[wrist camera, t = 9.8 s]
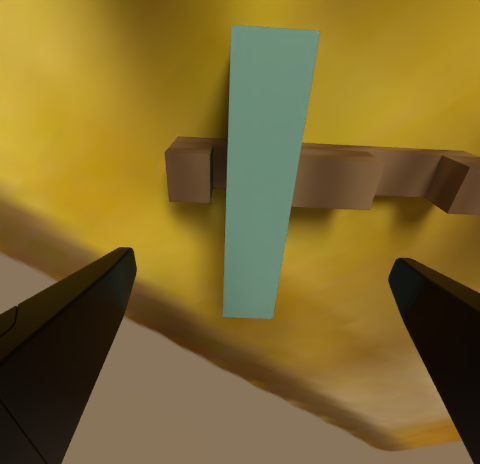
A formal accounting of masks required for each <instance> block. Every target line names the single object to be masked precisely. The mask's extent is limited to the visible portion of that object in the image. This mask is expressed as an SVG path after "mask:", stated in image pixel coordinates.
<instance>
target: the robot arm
mask: <svg viewBox="0 0 480 464" xmlns="http://www.w3.org/2000/svg"><path fill="white" fill-rule="evenodd" d="M136 272H137V267H136V261H135V256H134V251H133V249H132V248H128V247H119V248H117V249H115V250H114V251H112V252H110V253H108V254H107V255H105V256H103V257H101V258H99V259H98V260H96V261H94V262H92V263H91V264H89V265H87V266H85V267H84V268H82V269H80V270H78V271H76V272H75V273H73V274H71V275H69V276H68V277H66V278H64V279H62V280H61V281H59V282H57V283H55V284H53V285H52V286H50V287H48V288H46V289H45V290H43V291H41V292H39V293H38V294H36V295H34V296H32V297H31V298H29V299H27V300H25V301H23V302H22V303H20V304H18V307H17V306H14V307H13V308H11V309H9V310H7V311H6V312H4V313H2V314H0V464H61V463H62V461H63V458H64V456H65V454H66V451H67V449H68V447H69V444H70V442H71V439H72V437H73V435H74V432H75V430H76V428H77V425H78V423H79V421H80V418H81V416H82V414H83V411H84V409H85V406H86V404H87V402H88V399H89V397H90V395H91V392H92V390H93V388H94V385H95V382H96V380H97V378H98V376H99V373H100V371H101V369H102V366H103V364H104V362H105V359H106V357H107V354H108V352H109V350H110V347H111V345H112V343H113V340H114V338H115V335H116V333H117V331H118V328H119V326H120V324H121V321H122V319H123V316H124V314H125V311H126V308H127V304H128V301H129V297H130V294H131V290H132V287H133V283H134V280H135V276H136ZM388 281H389V285H390V288H391V290H392V293H393V296H394V298H395V301H396V304H397V306H398V309H399V312H400V314H401V317H402V319H403V322H404V324H405V326H406V328H407V330H408V332H409V334H410V336H411V338H412V340H413V342H414V344H415V346H416V348H417V350H418V352H419V354H420V356H421V358H422V360H423V362H424V364H425V366H426V368H427V370H428V373H429V375H430V377H431V379H432V381H433V383H434V385H435V387H436V389H437V391H438V393H439V395H440V397H441V399H442V401H443V403H444V405H445V407H446V409H447V411H448V413H449V415H450V417H451V419H452V421H453V423H454V425H455V427H456V429H457V431H458V433H459V435H460V437H461V439H462V441H463V443H464V445H465V447H466V449H467V451H468V453H469V455H470V457H471V459H472V461H473V463H474V464H480V293H478V292H476V291H474V290H472V289H470V288H468V287H466V286H464V285H462V284H460V283H458V282H456V281H455V280H453V279H451V278H449V277H447V276H445V275H443V274H441V273H439V272H437V271H435V270H433V269H431V268H429V267H427V266H425V265H423V264H421V263H419V262H417V261H415V260H413V259H411V258H398V259H396V261H395V263H394V265H393V267H392V270H391V272H390V274H389V278H388Z"/></svg>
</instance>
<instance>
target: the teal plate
mask: <svg viewBox="0 0 480 464" xmlns="http://www.w3.org/2000/svg"><path fill="white" fill-rule="evenodd" d="M319 36H320V31H315V30H300V29H285V28H270V27H255V26H240V25H231V54H230V88H229V122H228V155H227V189H226V223H225V256H224V290H223V317H234V318H265V319H273V314H274V308H275V302H276V296H277V290H278V284H279V278H280V272H281V266H282V260H283V254H284V248H285V241H286V235H287V229H288V223H289V217H290V211H291V205H292V199H293V193H294V187H295V181H296V175H297V169H298V163H299V157H300V151H301V145H302V139H303V132H304V126H305V120H306V114H307V108H308V102H309V96H310V90H311V84H312V78H313V72H314V66H315V60H316V54H317V48H318V42H319Z"/></svg>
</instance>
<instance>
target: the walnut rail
mask: <svg viewBox="0 0 480 464" xmlns="http://www.w3.org/2000/svg"><path fill="white" fill-rule="evenodd" d="M227 155H228V139H214V138H194V137H178V138H177V139H176V140H175V141H174V142H173V143H172V144H171V146H170V147H169V148H168V149H167V150H166V151H165V160H166V172H167V183H168V194H169V202H192V203H210V201H211V196H212V191H213V188H225V189H227ZM375 195H380V196H402V197H424V198H426V199H427V200H429V201H430V202H432V203H433V204H434V205H436V206H437V207H439V208H440V209H442V210H443V211H444V212H446V213H447V214H469V215H480V157H478V156H475V155H472V154H470V153H467V152H464V151H450V150H430V149H410V148H391V147H371V146H351V145H332V144H312V143H302V145H301V151H300V157H299V163H298V169H297V175H296V181H295V187H294V193H293V199H292V205H291V207H308V208H331V209H354V210H370V208H371V205H372V202H373V199H374V196H375Z"/></svg>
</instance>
